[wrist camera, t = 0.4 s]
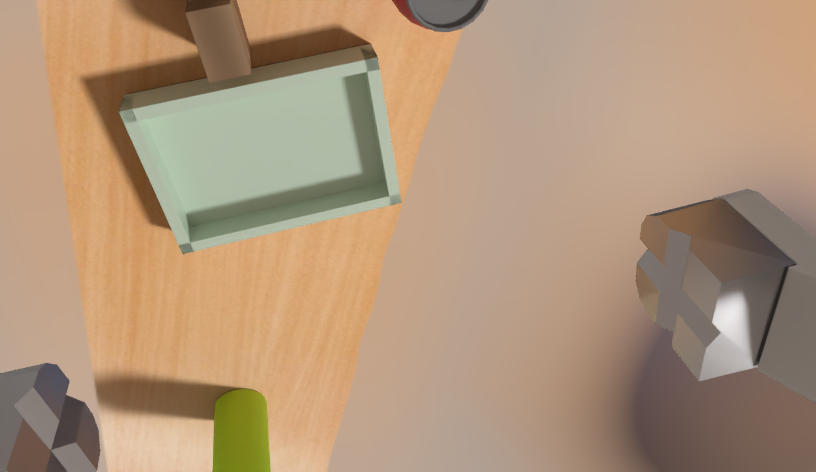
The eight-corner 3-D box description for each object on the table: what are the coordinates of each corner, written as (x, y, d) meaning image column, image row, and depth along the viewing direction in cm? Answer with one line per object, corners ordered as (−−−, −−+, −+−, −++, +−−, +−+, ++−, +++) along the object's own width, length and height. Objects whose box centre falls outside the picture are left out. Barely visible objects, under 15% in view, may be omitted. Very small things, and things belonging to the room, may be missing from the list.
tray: (124, 95, 50) (118, 111, 48) (370, 43, 52) (377, 57, 50) (184, 233, 59) (182, 254, 57) (394, 185, 61) (401, 202, 59)
